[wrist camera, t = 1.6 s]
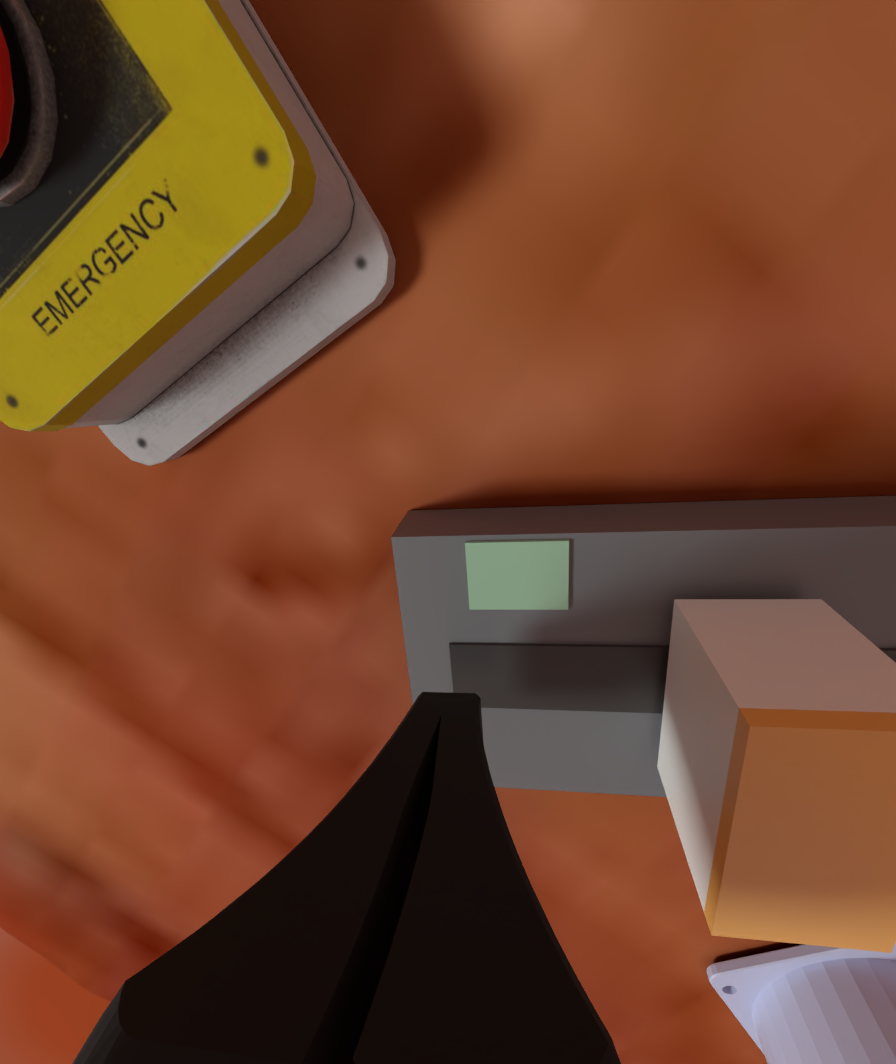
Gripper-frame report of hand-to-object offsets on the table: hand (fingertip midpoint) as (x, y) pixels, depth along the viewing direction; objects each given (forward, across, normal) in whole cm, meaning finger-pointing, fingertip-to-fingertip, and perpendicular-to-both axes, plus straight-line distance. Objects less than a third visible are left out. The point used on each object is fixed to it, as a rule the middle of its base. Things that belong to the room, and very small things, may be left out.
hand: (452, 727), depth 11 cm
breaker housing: (+4, -7, 0) cm, 8 cm away
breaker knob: (+2, -7, 0) cm, 7 cm away
